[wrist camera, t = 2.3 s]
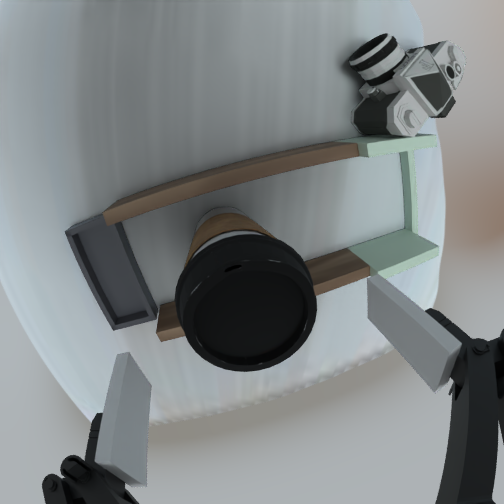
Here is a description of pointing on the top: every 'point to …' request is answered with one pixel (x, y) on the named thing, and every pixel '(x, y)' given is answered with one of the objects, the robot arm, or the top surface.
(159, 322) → the channel
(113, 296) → the tray
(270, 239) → the coffee cup
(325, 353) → the top surface
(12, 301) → the top surface
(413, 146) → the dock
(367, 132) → the camera
